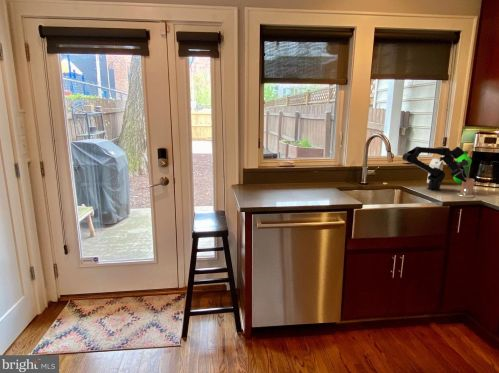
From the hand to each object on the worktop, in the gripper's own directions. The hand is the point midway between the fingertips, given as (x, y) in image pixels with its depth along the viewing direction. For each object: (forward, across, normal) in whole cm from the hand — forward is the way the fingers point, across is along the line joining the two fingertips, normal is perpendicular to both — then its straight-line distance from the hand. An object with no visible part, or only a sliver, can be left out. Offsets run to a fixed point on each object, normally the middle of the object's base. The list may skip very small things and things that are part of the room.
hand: (466, 180), depth 223 cm
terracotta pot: (+7, 0, +5) cm, 9 cm away
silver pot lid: (+7, -10, +5) cm, 13 cm away
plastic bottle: (+1, +36, +11) cm, 38 cm away
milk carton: (-10, +19, +22) cm, 31 cm away
